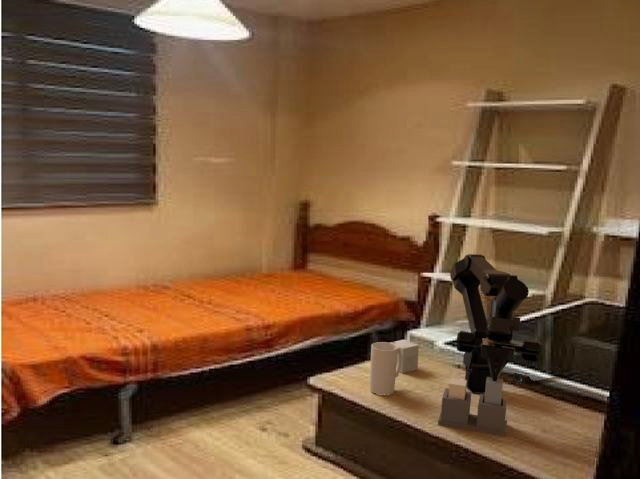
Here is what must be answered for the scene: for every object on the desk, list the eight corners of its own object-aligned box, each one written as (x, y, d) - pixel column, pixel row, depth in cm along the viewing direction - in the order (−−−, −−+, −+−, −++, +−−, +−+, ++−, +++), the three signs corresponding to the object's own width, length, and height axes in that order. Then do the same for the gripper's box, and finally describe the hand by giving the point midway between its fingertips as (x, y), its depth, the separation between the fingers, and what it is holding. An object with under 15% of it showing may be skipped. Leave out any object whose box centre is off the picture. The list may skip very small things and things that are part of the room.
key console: (441, 413, 149) (443, 387, 148) (506, 424, 144) (509, 397, 143) (437, 424, 143) (440, 397, 142) (505, 436, 138) (508, 408, 137)
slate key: (484, 405, 144) (486, 376, 143) (500, 408, 143) (503, 379, 142) (483, 411, 141) (485, 382, 139) (499, 414, 140) (502, 384, 138)
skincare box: (418, 369, 177) (419, 345, 175) (401, 373, 173) (403, 348, 172) (403, 363, 182) (405, 338, 180) (387, 366, 178) (389, 342, 177)
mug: (381, 398, 156) (384, 352, 154) (363, 389, 161) (365, 345, 159) (409, 389, 162) (412, 345, 160) (390, 381, 167) (393, 338, 165)
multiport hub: (561, 377, 177) (562, 369, 176) (524, 385, 170) (525, 377, 169) (548, 372, 180) (549, 364, 180) (512, 379, 173) (513, 371, 173)
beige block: (448, 406, 147) (451, 378, 146) (464, 408, 146) (466, 380, 144) (447, 412, 143) (449, 383, 142) (462, 415, 142) (465, 386, 141)
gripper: (460, 297, 145) (451, 358, 137) (545, 307, 140) (541, 371, 131) (461, 321, 154) (452, 379, 145) (541, 331, 148) (537, 392, 140)
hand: (494, 380), depth 140 cm, fingers closed, pressing on slate key
